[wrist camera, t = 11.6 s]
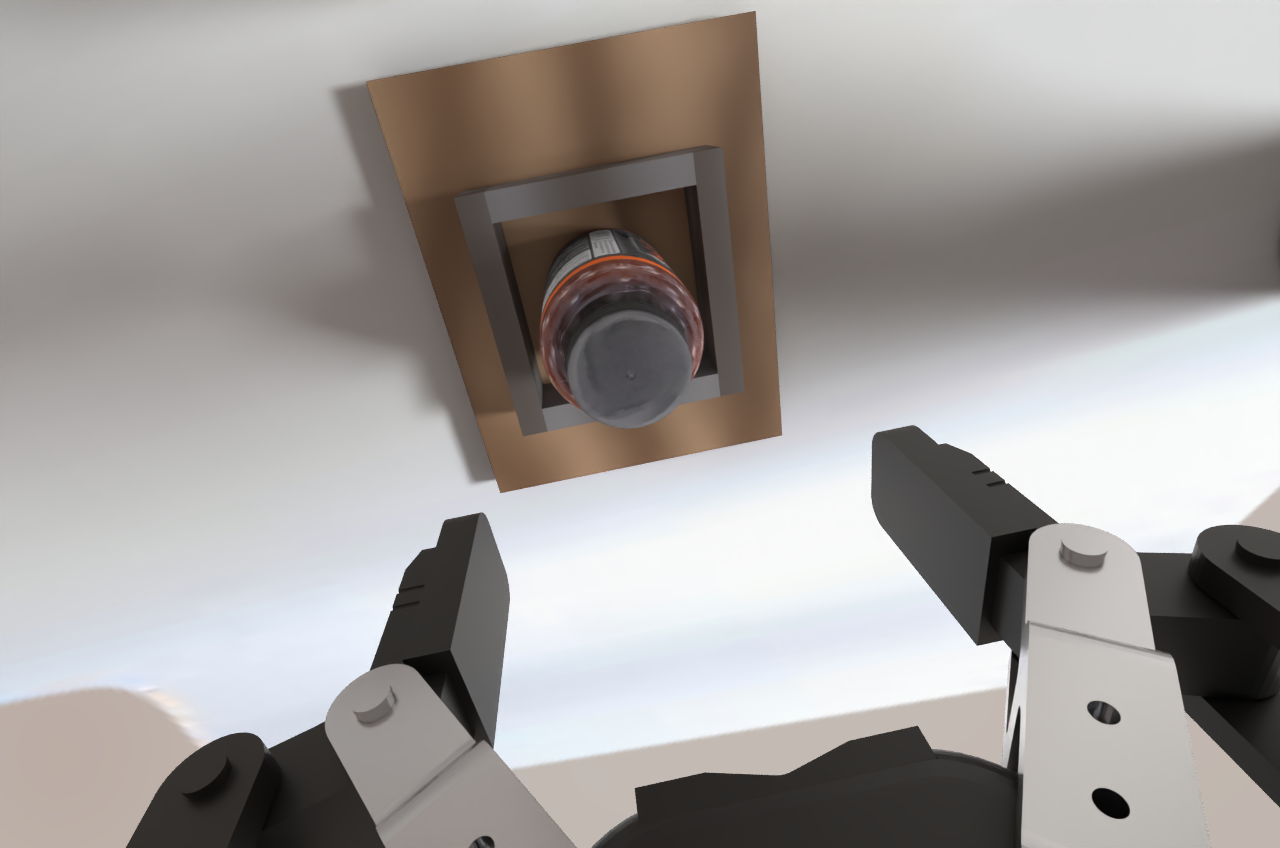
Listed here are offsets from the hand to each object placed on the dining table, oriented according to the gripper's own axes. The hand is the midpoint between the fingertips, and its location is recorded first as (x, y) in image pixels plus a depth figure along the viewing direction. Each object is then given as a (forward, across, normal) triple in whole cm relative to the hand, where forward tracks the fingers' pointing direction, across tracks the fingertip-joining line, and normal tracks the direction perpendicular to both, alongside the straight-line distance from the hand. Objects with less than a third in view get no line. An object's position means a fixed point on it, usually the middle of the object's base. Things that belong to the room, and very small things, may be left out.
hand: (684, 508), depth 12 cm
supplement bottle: (+19, 0, 0) cm, 19 cm away
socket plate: (+20, 0, 0) cm, 20 cm away
